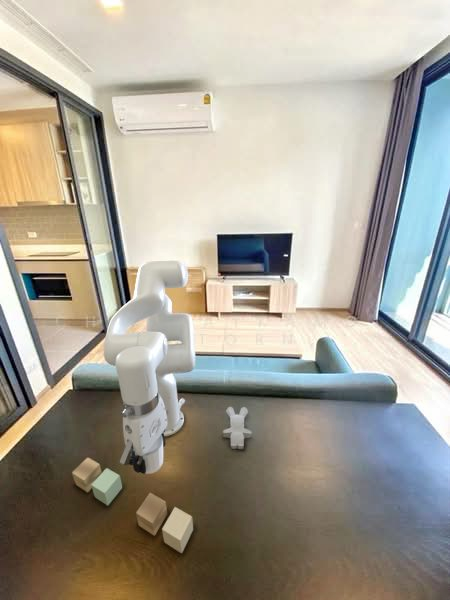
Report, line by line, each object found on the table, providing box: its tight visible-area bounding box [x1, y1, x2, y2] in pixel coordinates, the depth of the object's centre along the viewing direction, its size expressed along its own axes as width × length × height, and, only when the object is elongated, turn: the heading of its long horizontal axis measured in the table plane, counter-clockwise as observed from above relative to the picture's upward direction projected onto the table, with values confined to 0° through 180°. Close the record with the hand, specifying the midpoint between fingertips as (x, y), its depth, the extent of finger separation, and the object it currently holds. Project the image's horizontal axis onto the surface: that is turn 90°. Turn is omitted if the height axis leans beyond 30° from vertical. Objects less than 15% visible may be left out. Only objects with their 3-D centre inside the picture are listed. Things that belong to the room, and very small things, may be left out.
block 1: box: [71, 457, 103, 493], centre depth 71 cm, size 5×5×5 cm
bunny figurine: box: [222, 406, 252, 450], centre depth 86 cm, size 10×5×15 cm
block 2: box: [91, 467, 123, 506], centre depth 68 cm, size 5×5×5 cm
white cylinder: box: [135, 435, 164, 475], centre depth 61 cm, size 7×7×7 cm
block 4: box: [161, 506, 194, 554], centre depth 59 cm, size 5×5×5 cm
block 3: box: [135, 492, 168, 536], centre depth 62 cm, size 5×5×5 cm
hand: (150, 456), depth 62 cm, fingers closed on white cylinder, 6 cm apart
